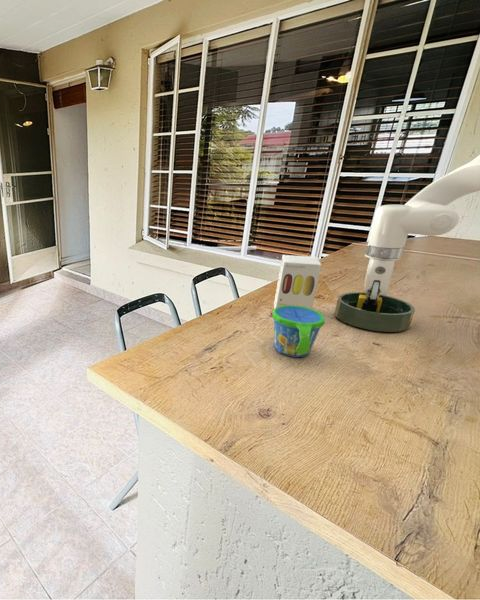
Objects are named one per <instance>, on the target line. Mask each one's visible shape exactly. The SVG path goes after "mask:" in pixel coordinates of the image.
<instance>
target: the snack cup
mask: <svg viewBox="0 0 480 600" xmlns="http://www.w3.org/2000/svg"><path fill="white" fill-rule="evenodd" d="M272 318H273V346H274V348H275V350H277V352H278V353H279V354H283V355H284V356H287V357H290V358H302V357H306V356H308V355H309V354H310V353H311V350H312V349H313V346H314V343H315V342H316V339H317V336H318V335H319V332H320V329H321V328H322V327H323V326H324V325H325V323H326V321H325V320H326V319H325V316H324V314H322V312H320V311H318V310H315V309H313V308H312V309H310V308H306V307H301V306H280V307H277V308H275V309H274V308H273V310H272Z"/></svg>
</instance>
